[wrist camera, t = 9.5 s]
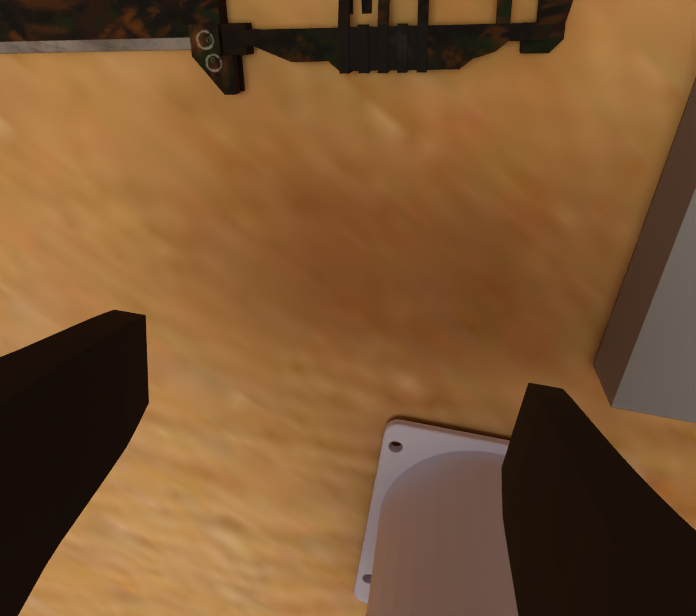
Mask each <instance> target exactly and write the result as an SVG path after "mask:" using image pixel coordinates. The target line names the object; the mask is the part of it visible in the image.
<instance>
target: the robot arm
mask: <svg viewBox="0 0 696 616" xmlns="http://www.w3.org/2000/svg"><path fill="white" fill-rule="evenodd" d="M148 403H149V395H148V368H147V342H146V315H142V314H136V313H130V312H125V311H119V310H112V311H109V312H106V313H103V314H101V315H98V316H96V317H93V318H91V319H88V320H86V321H84V322H81V323H79V324H77V325H75V326H72V327H70V328H68V329H65V330H63V331H61V332H59V333H56V334H54V335H52V336H49V337H47V338H45V339H43V340H40V341H38V342H36V343H33V344H31V345H29V346H26V347H24V348H22V349H19V350H17V351H15V352H12V353H10V354H7V355H5V356H2V357H0V616H18V614H19V613H20V611H21V609H22V607H23V605H24V604H25V602H26V600H27V598H28V596H29V595H30V593H31V591H32V589H33V587H34V586H35V584H36V582H37V580H38V578H39V577H40V575H41V573H42V571H43V569H44V568H45V566H46V564H47V563H48V561H49V560H50V558H51V556H52V555H53V553H54V552H55V550H56V549H57V547H58V545H59V544H60V542H61V541H62V539H63V538H64V537H65V535H66V534H67V532H68V531H69V529H70V528H71V527H72V525H73V524H74V522H75V521H76V519H77V518H78V517H79V515H80V514H81V512H82V511H83V509H84V508H85V507H86V505H87V504H88V502H89V501H90V499H91V498H92V497H93V495H94V494H95V492H96V491H97V489H98V488H99V487H100V485H101V484H102V482H103V481H104V479H105V478H106V476H107V475H108V474H109V472H110V471H111V469H112V468H113V466H114V465H115V463H116V462H117V460H118V459H119V457H120V456H121V454H122V453H123V451H124V450H125V448H126V447H127V445H128V443H129V441H130V439H131V438H132V436H133V434H134V432H135V430H136V428H137V426H138V424H139V422H140V420H141V418H142V416H143V414H144V412H145V410H146V407H147V405H148ZM392 441H397V442H400V443H401V444H402V445H400V446H394V445H392V444H391V442H392ZM366 574H370V575H372V576H368V575H366ZM354 596H355V597H356V598H357V599H358V600H359V601H361V602H364V603H368V605H367V613H366V616H696V530H695V529H693V528H692V527H691V526H690V525H689V524H688V523H687V522H686V521H685V520H684V519H683V518H682V517H680V516H679V515H678V514H677V513H676V512H675V511H674V510H673V509H672V508H671V507H670V506H669V505H668V504H667V503H666V502H665V501H664V500H663V499H662V498H661V497H660V496H659V495H658V494H657V493H656V492H655V491H654V490H653V489H652V488H651V487H650V486H649V485H648V484H647V483H646V482H645V481H644V480H643V479H642V478H641V477H640V476H639V474H638V473H637V472H636V471H635V470H634V469H633V468H632V467H631V466H630V465H629V464H628V463H627V462H626V460H625V459H624V458H623V457H622V456H621V455H620V454H619V453H618V452H617V450H616V449H615V448H614V447H613V446H612V445H611V444H610V443H609V441H608V440H607V439H606V438H605V437H604V436H603V435H602V433H601V432H600V431H599V430H598V429H597V427H596V426H595V425H594V424H593V423H592V422H591V420H590V419H589V418H588V417H587V416H586V415H585V413H584V412H583V411H582V410H581V409H580V408H579V406H578V405H577V404H576V403H575V402H574V401H573V400H572V398H571V397H570V396H569V395H568V394H567V393H566V392H565V391H564V390H563V389H561V388H556V387H550V386H544V385H539V384H533V383H528V386H527V389H526V392H525V395H524V399H523V402H522V405H521V408H520V411H519V414H518V417H517V420H516V424H515V427H514V430H513V433H512V436H511V439H510V441H509V440H504V439H499V438H494V437H489V436H484V435H478V434H473V433H468V432H463V431H458V430H452V429H447V428H442V427H437V426H432V425H426V424H421V423H416V422H411V421H406V420H400V419H395V420H392V421H390V422H389V423H387V425H386V427H385V431H384V436H383V441H382V447H381V452H380V457H379V462H378V468H377V473H376V478H375V483H374V488H373V494H372V499H371V504H370V509H369V514H368V520H367V525H366V530H365V535H364V541H363V546H362V551H361V556H360V561H359V567H358V572H357V577H356V582H355V588H354Z"/></svg>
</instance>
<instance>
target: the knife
mask: <svg viewBox="0 0 696 616" xmlns="http://www.w3.org/2000/svg"><path fill="white" fill-rule="evenodd" d="M572 1H573V0H538V10H537V21H536V22H535V23H512V24H510V19H511V6H512V0H498V3H497V16H496V24H471V25H431V26H428V13H429V0H418V26H408V24H398V26H390V27H388V24H389V0H379V3H378V27H369V25H358V27H350V26H349V23H350V14H353V0H339V12H338V28H309V29H269V30H261V29H252V24H251V23H229V24H228V19H227V8H226V0H0V53H43V52H92V51H141V50H189V49H191V51H192V57H193V58H194V59H195V60H196V61H197V63H198V64H199V65H200V66H201V67H202V68H203V70H204V71H205V72H206V73H207V74H208V76H209V77H210V78H211V79H212V80H213V81H214V83H215V84H216V85H217V86H218V87H219V88H220V90H221V91H222V92H223V93H224V94H225V95H236V94H238V93H240V91H245V86H244V75H243V64H242V55H248V54H253V53H254V48H253V46H255V47H257V48H259V49H262V50H264V51H267V52H269V53H271V54H274V55H276V56H279V57H281V58H283V59H286V60H288V61H290V62H316V61H329V62H330V63H331V64H332V65H333V66H335V67H336V68H337V69H338V70H339V71H340V74H343V73H351V72H352V71H359V73H369V72H370V71H373V70H378V73H388V72H389V71H390V70H397V73H407V72H408V70H417V72H427V70H440V69H460V68H461V67H463V66H464V65H465V64H466V63H468V62H469V61H470V60H472V59H473V58H476V57H480V56H483V55H486V54H489V53H492V52H495V51H496V50H498V49H499V48H500V47H501V46H503V45H504V44H505V43H507V42H508V41H520V53H549V52H550V51H551V50H553V49H554V48H555V47H556V46H557V45H558V44H559V43H560V42H561V41H562V40H563V39H564V31H565V22H566V19H567V16H568V14H569V11H570V8H571V5H572ZM367 13H372V0H362V14H367Z"/></svg>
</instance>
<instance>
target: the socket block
mask: <svg viewBox="0 0 696 616" xmlns="http://www.w3.org/2000/svg"><path fill="white" fill-rule="evenodd" d="M594 368H595V370H596V373H597V375H598V377H599V380H600V382H601V384H602V387H603V389H604V392H605V394H606V396H607V399H608V401H609V404H610V406H611V407H612V408H618V409H623V410H628V411H634V412H639V413H645V414H650V415H655V416H661V417H666V418H671V419H677V420H682V421H687V422H693V423H696V80H695V83H694V85H693V88H692V91H691V94H690V97H689V99H688V102H687V105H686V108H685V111H684V113H683V116H682V119H681V122H680V125H679V127H678V130H677V133H676V136H675V139H674V141H673V144H672V147H671V150H670V153H669V155H668V158H667V161H666V164H665V167H664V169H663V172H662V175H661V178H660V181H659V183H658V186H657V189H656V192H655V195H654V197H653V200H652V203H651V206H650V209H649V211H648V214H647V217H646V220H645V223H644V225H643V228H642V231H641V234H640V237H639V239H638V242H637V245H636V248H635V251H634V253H633V256H632V259H631V262H630V265H629V267H628V270H627V273H626V276H625V279H624V281H623V284H622V287H621V290H620V293H619V295H618V298H617V301H616V304H615V307H614V309H613V312H612V315H611V318H610V320H609V323H608V326H607V329H606V332H605V334H604V337H603V340H602V343H601V346H600V348H599V351H598V354H597V357H596V360H595V362H594Z"/></svg>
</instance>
